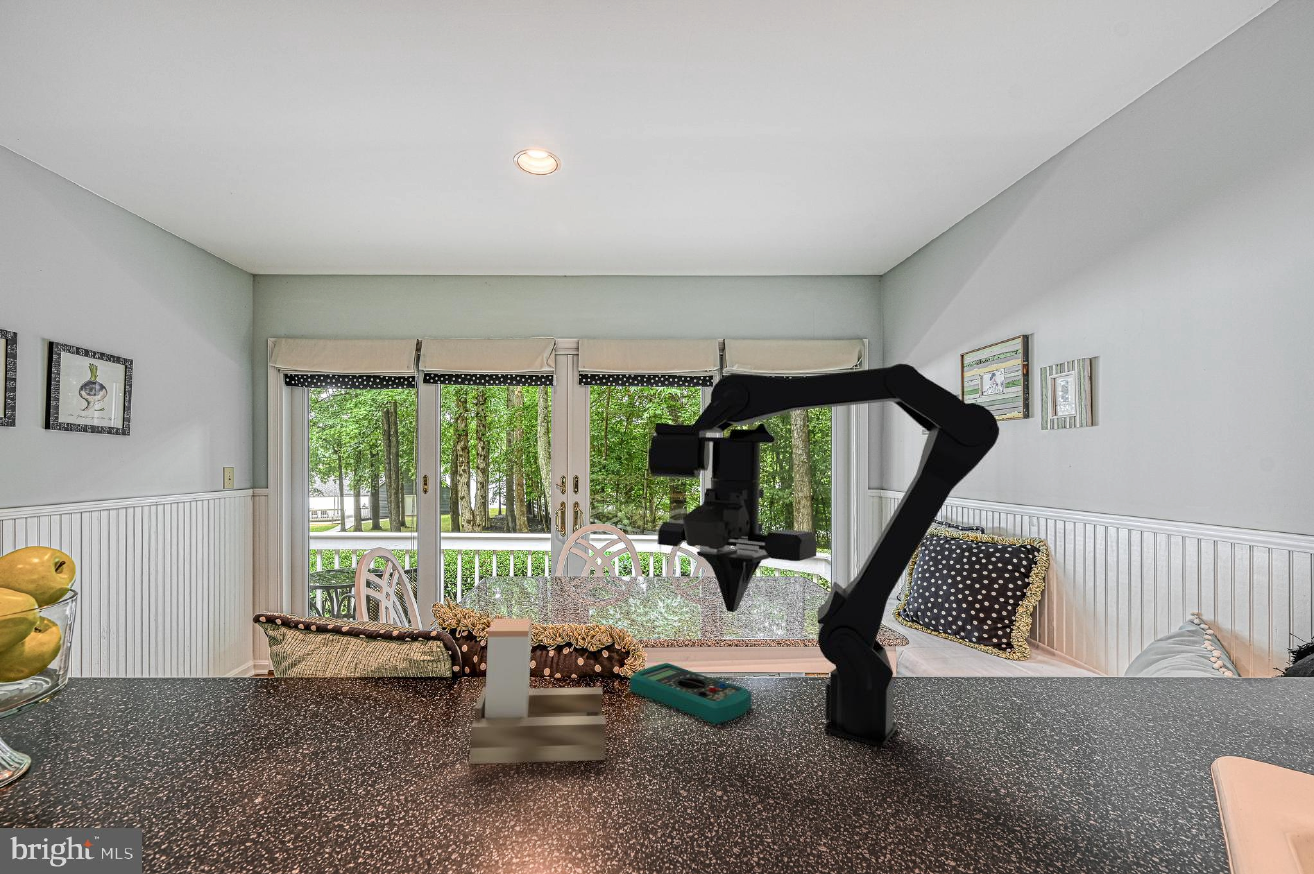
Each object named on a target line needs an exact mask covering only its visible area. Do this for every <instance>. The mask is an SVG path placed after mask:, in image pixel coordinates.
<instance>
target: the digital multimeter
mask: <svg viewBox="0 0 1314 874" xmlns="http://www.w3.org/2000/svg"><path fill="white" fill-rule="evenodd" d="M629 679H630V681H629V682H630V684H629V691H630V692H631V693H634V694H637V695H639V696H641V697H645V698H647V699H651V700H653V701H656V702H659V703H662V704H663V705H667V706H670V707H672V708H675V709H677V710H679V711H682V712H684V713H687V714H689V715H692V716H695V717H697V718H699V719H702V720H704V721H706V722H709V723H712V724H714V725H717V724H721V723H725V722H728V721H732V720H734V719H736V718H739V717H741V716H742V715H744V714H745V713H746V712H748V710H750V709H751V707H752V693H751V691H749V690H748V689H747V688H746V687H744V686H743V687H742V686H739V685H736V684H732V683H729V682H727V681H722V680H720V679H716V678H712V677H710V676H707V675H704V674H701V673H697V672H694V671H692V670H689V669H686V668H683V667H680V666H678V665H676V664H675V665H674V664H671V663H668V662H663V663H660V664H656V665H652V666H650V667H646V668H644V669H641V670H639V671H636V672H635V673H634V674H633V673H632V675H630V678H629Z"/></svg>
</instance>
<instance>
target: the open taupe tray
mask: <svg viewBox="0 0 1314 874" xmlns="http://www.w3.org/2000/svg"><path fill="white" fill-rule="evenodd" d="M485 698H486V686H483V687H482V689H481V693H480V694H479V697H478V700H477V701H476V705H475V707H474V719H473V721H472V723H471V726H470V746H469V748H470V749H469V765H478V764H479V765H483V764H511V763H512V764H516V763H545V762H572V761H573V762H574V761H575V762H577V761H579V762H581V761H583V762H584V761H585V762H586V761H606V740H607V739H606V736H607V721H606V720H607V719H606V715H603V688H602V687H601V686H600V687H597V686H596V687H547V688H543V687H541V688H529V705H528V717H525V718H485Z"/></svg>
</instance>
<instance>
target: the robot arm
mask: <svg viewBox="0 0 1314 874" xmlns="http://www.w3.org/2000/svg"><path fill="white" fill-rule="evenodd" d="M887 402H891V403H892V402H893V404H895V405H896V406H898V407H899V408H900V409H901V410H902V411H904V412H905V413H906V414H907V416H909V417H910V418H911V419H912V420H913V421H914V422H915V423H917V424H918V425H919V426H921V427H922V428H923V429H924V430H925V431H927V432H928V434H927V437H926V440H925V443H924V446H923V449H922V452H921V456H920V459H919V460H920V461H919V464H918V468H917V470H916V473H915V475H914V477H913V479H912V481H911V482H910V484H909V486H908V488H907V489H906V491H905V492H904V494H903V496H902V498H901V500H900V501H899V503H898V504H897V507H896V508H895V510H894V512H893V514H892V515H891V517H890V519H889V520H888V521H887V524H886V525H885V527H884V529H883V530H882V532H881V534H880V536H879V537H878V539H877V541H876V543H875V544H874V545H873V547H872V550H870V553H869V555H868V556H867V558H866V559H865V561H864V563H863V565H862V567H861V568H860V570H859V572H858V573H857V575H856V576H855V577H854V578H853V580H851V581H850V582H849V583H848V584H847V585H846V586H845V587H843V586H842V585H840V584H839V583H838V582H836V581H834V582H833V583H832V586H831V588H830V592H829V595H828V597H827V598H826V600H825V601H824V603H823V604H822V605H820V606H819V607H818V608H817V618H816V619H817V624H818V628H817V629H818V630H817V631H818V632H817V633H818V635H817V642H818V647H819V650H820V652H821V654H822V655H823V657H824V658H825V659H826V660H827V661H828V662H830V663H831V664H833V665H834V666H835V668H833V670H831V671H830V674H829V675H830V679H829V682H827V683H826V684H825V697H824V699H825V700H824V701H825V706H824V707H825V708H824V709H825V711H824V712H825V713H824V718H825V721H827V723H826V724H825V725H823V731H824V732H826V733H828V734H831V735H835V736H839V737H842V738H847V739H849V740H854V741H856V742H857V741H858V742H861V743H865V744H869V745H872V746H876V747H880V748H881V747H885V746H886V744H887V743H888V741H889V740H890V739H891V737H892V736H893V734H894V733H895V732H896V731H897V730H898V723H896V722H894V682H895V681H894V679H895V677H894V672H893V668H892V665H891V662H890V659H889V655H888V652H887V650H886V648H885V647H884V645H882V644H881V643H880V642H879V640H878V639H877V637H878V635H879V632H880V629H881V626H882V621H883V618H884V614H885V611H886V607H887V603H888V600H889V598H890V596H891V594H892V592H893V591H894V589H895V587H896V585H897V584H898V583H899V581H900V579H901V577H902V575H903V573H904V572H905V570H906V568H907V567H908V565H909V563H910V561H911V560H912V558H913V556H914V555H915V553H916V551H917V549H918V548H919V546H920V545H921V543H922V541H923V539H924V538H925V536H926V534H927V533H928V531H929V529H930V528H931V526H932V524H933V523H934V521H935V519H936V517H937V516H938V514H939V513H940V510H941V509H942V507H943V505H944V504H945V502H946V500H947V499H948V497H949V495H950V494H951V492H952V490H953V489H954V488H955V487H956V486H958V484H960V483H961V481H963V479H964V478H965V477H967V476H968V475H969V474H970V473H971V472H972V471H973V470H974V469H975V468H976V467H977V466H978V465H979V464H980V462H981V461H982V460H983V459H984V458H985V456H986V455H987V454H988V453H989V451H991V450H992V448H993V447H994V446H995V444H996V443H997V440H998V437H999V435H1000V427H999V425H998V421H997V419H996V417H995V415H994V414H993V412H991V410H989V409H988V408H987V407H985V406H983V405H980V404H978V403H972V402H971V403H967V402H965V401H963V400H962V399H960V397H959V396H956V394H954V393H952V392H951V391H949V390H947V389H946V388H944V387H942V386H940V385H939V384H937V383H936V382H934V381H932V380H930V379H929V378H928V377H926V376H924V375H923V374H921V373H920V372H919V371H918V370H917V369H916V367H914V366H913V365H910V364H907V363H897V364H893V365H891V366H888V367H886V366H885V367H880V368H879V367H878V368H870V369H861V370H851V371H843V372H842V371H841V372H836V373H835V372H834V373H832V372H831V373H823V374H815V375H814V374H813V375H807V376H799V377H798V376H797V377H777V376H771V375H763V374H749V373H748V374H745V373H730V374H727V375H723V376H722V377H721V378H719V379H718V381H717V382H716V383H715V384H714V386H713V387H712V390H711V393H710V402H709V403H708V405H707V406H706V407H705V409H704V410H703V411H702V412H701V414H699V416H698V418H697V419H696V420H695V421H694V423H693V424H673V423H667V422H656V423H655V424H654V427H655V428H654V433H653V435H652V437H651V442H650V447H649V448H648V467H649V472H650V474H651V477H653V478H666V479H668V478H670V479H690V480H691V479H693V480H694V479H695V480H696V479H697V480H698V479H700V477H701V473H702V471H703V472H707V471H708V470H709V465H710V459H711V484H710V485H711V487H707V488H705V492H704V500H703V502H702V504H701V505H698V506H696V507H695V508H694V509H692V510H690V511H689V512H688V513H687V514H686V515H684V516H683V517H682V519H677V520H676V519H675V520H668V521H663V522H662V523H661V525H660V526H659V528H658V530H657V545H661V546H668V547H679V546H680V545H681V544H682V543H683V542H686V545H687V546H689V547H694V548H695V547H696V546H699V551H696V555H697V556H698V557H701V558H703V559H704V560H705V561H706V562H707V563H708V565H710V567H711V569H712V570H713V574H714V576H715V578H716V580H717V584H718V586H719V590H720V593H721V596H722V599H723V602H724V606H725V609H726V611H727V612H729V613H735V612H737V611H738V608H739V606H740V605H741V602H742V600H743V598H744V596H745V593H746V591H747V589H748V587H749V584H750V583H751V580H752V578H753V576H754V574H755V572H756V571H757V570H758V568H759V567H760V564H761V563H762V561H765V560H768V559H773V560H781V561H783V560H784V561H790V562H802V561H805V560H808V559H810V558H814V557H817V545H818V544H817V543H818V542H817V540H816V537H815V535H814V534H813V532H812V531H807V530H806V531H805V530H796V529H795V530H794V529H784V528H783V529H779V530H774V531H773V530H772V531H768V532H767V534H766V533H762V532H764V531H763V527H764V525H763V524H764V523H762V522H759V511H760V510H759V509H760V507H759V506H760V499H763V498H764V496H765V495H764V494H765V493H764V492H765V491H764V489H762V488H760V472H761V470H760V466H761V462H760V461H761V444H766V445H767V444H771V445H772V444H776V443H777V438H776V437H775V436H774V435H773V434H772V433H771V432H770V431H769V429H768V428H767V426H766V424H764V423H763V422H762V421H765V420H768V419H771V418H774V417H777V416H780V415H784V414H788V413H791V412H795V411H805V410H814V409H824V408H825V409H826V408H834V407H845V406H856V405H863V404H865V405H867V404H875V403H876V404H877V403H887ZM757 422H761V423H759V424H758V426H757V427H756V428H754V429H750V428H749V429H746V428H745V429H743V428H732V429H731V430H730V432H729V436H728V437H725V436H724V437H719V436H718V437H716V436H713V437H712V436H707V434H710V433H711V434H722V433H723V432H724V431H727V430H728V429H730V428H731V427H733V426H745V425H746V426H747V425H751V424H755V423H757ZM710 443H712V452H711V451H710ZM710 452H711V453H712V454H711V456H710ZM710 457H711V458H710ZM732 547H735V548H732Z"/></svg>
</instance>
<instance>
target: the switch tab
mask: <svg viewBox="0 0 1314 874" xmlns="http://www.w3.org/2000/svg"><path fill="white" fill-rule="evenodd" d="M532 620H533V619H532V617H531V618H523V617H522V618H517V617H516V618H514V617H513V618H493V620H492V623H491V625H490V626H489V628H488V631H487V651H486V653H487V655H486V677H485V687H486V698H485V718H525V717H528V705H529V689H530V677H531V674H530V673H531V670H530V669H531V651H532V650H531V646H532V626H533V625H532Z"/></svg>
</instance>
